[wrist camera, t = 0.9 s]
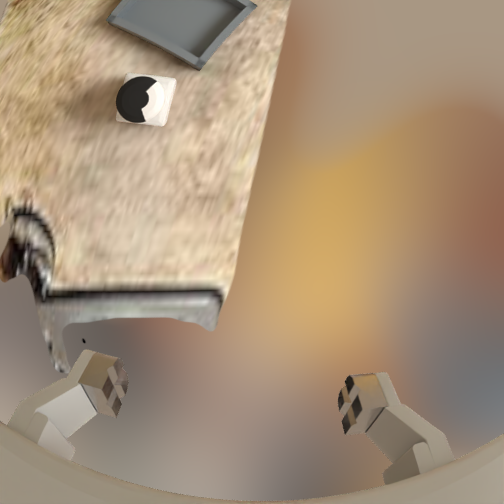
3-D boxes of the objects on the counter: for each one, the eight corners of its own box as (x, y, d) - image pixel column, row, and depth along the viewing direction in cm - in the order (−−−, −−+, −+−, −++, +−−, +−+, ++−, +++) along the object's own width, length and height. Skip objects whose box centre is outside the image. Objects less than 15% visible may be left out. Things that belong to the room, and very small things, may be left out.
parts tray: (111, 25, 27) (105, 20, 24) (165, -35, 23) (164, -43, 20) (199, 70, 36) (201, 68, 33) (252, 11, 31) (257, 5, 29)
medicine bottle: (124, 117, 37) (105, 125, 27) (134, 76, 33) (117, 68, 24) (166, 122, 39) (160, 131, 29) (177, 81, 36) (175, 75, 26)
